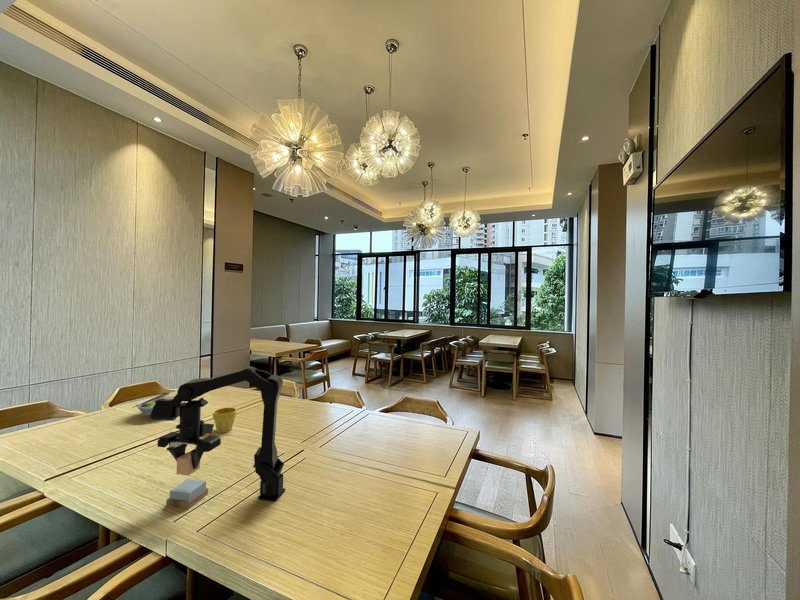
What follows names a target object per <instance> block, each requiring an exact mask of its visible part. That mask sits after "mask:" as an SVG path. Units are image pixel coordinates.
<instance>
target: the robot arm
mask: <svg viewBox="0 0 800 600" xmlns="http://www.w3.org/2000/svg"><path fill="white" fill-rule="evenodd" d="M242 382H248V383H249V384H250V385H251V386H253V387H254V388H255V389H257V390H259V391H260V395H261V399H262V403H263V413H262V415H263V416H262V429H261V430H262V431H261V444H260V445H261V446H259V447H258V449H256V452H255V453H254V455H253V460H254V461H253V462H254V463H253V466H252V468H253V469H254V471H255V474H256V475H258V476H259V479H260V481H259V485H260V486H259V495H258V496H257V499H258V500H266V501H272V502H276V501H277V500H278V499H279V498H280V497H281V496H282V495H283V494H284V493H285V492H286V488H285V487H284V474H282V471H283V469H284V466H285V463H284V462H283V461H282V460H281V459H280V458H279V456H278V449H277V448H278V447H277V446H276V441H275V440H276V432H277V431H276V430H277V429H276V428H277V416H278V415H277V413H278V403H279V398H280V396H281V392H282V389H283V385H284V380H283V378H282V377H281V376H280V375H277V374H271V373H270V372H268V371H264V370H261V369H258V368H256V367H254V366H247V367H246V368H242V369H238V370H236V371H232V372H229V373H224V374H222V375H217V376H214V377H209V378H208V377H203V378H193V379H192V380H188V381H187V382H185V383H182V384H181V385H180V386H179V387H178V389H177V393H176V396H175V397H174V398H173V399H158V400H156V401H155V405H154V407H153V409H152V412H151V415H150V419H151V421H152V422H169V421H175V420H177V419H178V418H179V424H177V425H176V426H175V427H176V428H175V429H176V430H178V431H179V432H178V431H170V432H168V433H166V434H165V435H162V436H160V437H159V438H158V439H157V448H166V447H167V448H166V451H168V452H169V454H170V455H171V456H172V457H173V459H174V460H175V461H176V462H177V458H178V457H180V456H182V455H184V454H185V453H186V448H187V446H188V445H189V446H194V448H193V449H192V450H189V452H190V454H191V460H192V466H193V469H196V468H197V467H198V464H199V462H200V463H201V459H202V457H203V454H204V453H208V452H211V451H212V450H215V449H216V448H218V447H219V446H221V444H222V440H221V439H222V438H221V437H220V436H219V435H218V436H217V435H212V434H213V430H214V427H215V423H208V422H207V423H206V422H204V420H202V419H201V416H202V415H201V413H202V408H203V407H205V406H206V405H207V404H209V401H208V400H206V399H204V397H203V395H205V394H207V393H209V392H210V391H211V392H212V391H214V390H217V389H221V388H222V389H223V388H224V387H228V386H232V385H235V384H238V383H242ZM201 396H202V397H201ZM199 397H200V398H199ZM197 398H199V399H197ZM183 401H185V403H181V402H183ZM206 434H208V436H206V437H205V435H206ZM201 437H204V438H201Z"/></svg>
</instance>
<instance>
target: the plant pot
mask: <svg viewBox="0 0 800 600" xmlns="http://www.w3.org/2000/svg"><path fill="white" fill-rule="evenodd" d="M237 410H238V409H237V408H235V407H229V406H228V407H222V408H217V409H216V410H213V412H212V420H213V421H214V426H215V429H216V432H217V433H220V434H223V433H228V432H230V431H232V430H233V428H234V427H233V426H234V422H235V419H236V417H237V413H238V411H237Z"/></svg>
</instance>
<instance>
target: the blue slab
mask: <svg viewBox="0 0 800 600" xmlns="http://www.w3.org/2000/svg"><path fill="white" fill-rule="evenodd" d="M206 488H207V480H199V479H189V478H186V479H185V480H183V481H182V482H181V483H179V484H178V485H176V486H175V487H173V488H172V489H170V491H169V498H170V499H175V500H184V501H191V500H192V499H193V498H194V497H196V496H197V495H198V494H200V493H201V492H202V491H203V490H205V489H206Z"/></svg>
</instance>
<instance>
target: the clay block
mask: <svg viewBox="0 0 800 600" xmlns="http://www.w3.org/2000/svg"><path fill="white" fill-rule="evenodd" d="M200 469H201V461H200V462H199V464H198V467H197V468H196V469H193V466H192V460H191V454H190V451H187V452H185V454H184V455H182V456H180V457H178V458H177V461H176V473H175V474H176V475H181V476H190V475H192V474H193V473H196V472H197V471H198V470H200Z"/></svg>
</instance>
